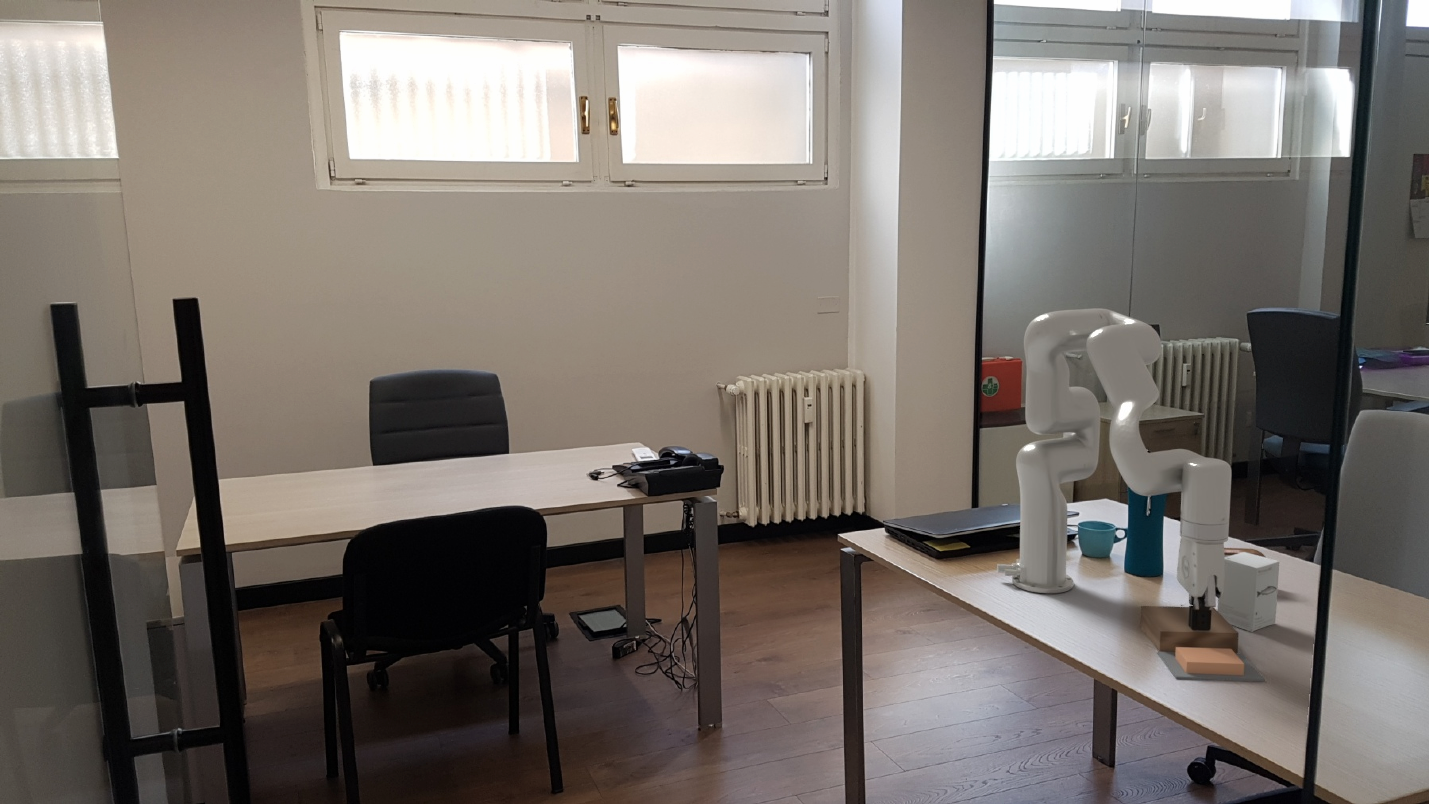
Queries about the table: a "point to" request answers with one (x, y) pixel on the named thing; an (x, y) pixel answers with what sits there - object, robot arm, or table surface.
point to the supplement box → (1249, 591)
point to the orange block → (1209, 661)
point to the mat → (1179, 673)
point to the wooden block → (1185, 629)
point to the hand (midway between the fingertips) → (1199, 628)
